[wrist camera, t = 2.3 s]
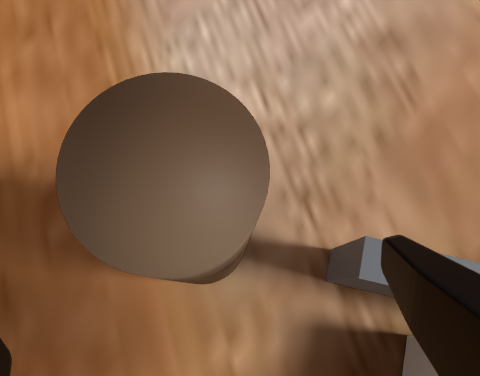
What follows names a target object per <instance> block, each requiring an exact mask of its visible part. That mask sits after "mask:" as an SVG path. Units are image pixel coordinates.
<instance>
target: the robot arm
mask: <svg viewBox="0 0 480 376" xmlns="http://www.w3.org/2000/svg"><path fill="white" fill-rule="evenodd" d="M381 269H382V272H383V275H384V277H385V279H386V281H387V283H388V285H389V287H390V289H391V291H392V293H393V295H394V298H395V300H396V302H397V304H398V306H399V308H400V310H401V312H402V314H403V316H404V318H405V320H406V322H407V324H408V326H409V328H410V330H411V332H412V334H413V335H414V337H415V339H416V340H417V342H418V343H419V345H420V347H421V348H422V350H423V352H424V353H425V355H426V356H427V358H428V360H429V361H430V363H431V364H432V366H433V368H434V369H435V371H436V372H437V374H438V376H480V274H479V273H477V272H475V271H473V270H471V269H469V268H467V267H465V266H463V265H461V264H459V263H457V262H455V261H453V260H451V259H449V258H447V257H445V256H443V255H441V254H439V253H437V252H435V251H433V250H431V249H429V248H427V247H425V246H423V245H421V244H419V243H417V242H415V241H413V240H411V239H409V238H407V237H405V236H402V235H395V236H390V237H386V238H384V239H383V241H382V249H381ZM11 363H12V359H11V354H10V352H9V350H8V348H7V347H6V346H5V344H4V343H3V341H2V340H1V338H0V376H10V372H11Z"/></svg>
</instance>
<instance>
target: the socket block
mask: <svg viewBox="0 0 480 376" xmlns="http://www.w3.org/2000/svg"><path fill="white" fill-rule="evenodd" d="M402 376H438V374H437V372H436V371H435V369H434V368H433V366H432V364H431V363H430V361H429V360H428V358H427V356H426V355H425V353H424V352H423V350H422V348H421V347H420V345H419V343H418V342H417V340H416V339H415V337H413V336H409V335H407V342H406V350H405V358H404V366H403V373H402Z"/></svg>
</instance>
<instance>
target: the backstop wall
mask: <svg viewBox="0 0 480 376" xmlns="http://www.w3.org/2000/svg"><path fill="white" fill-rule="evenodd" d="M382 241H383V240H380V239H376V238H371V237H367V236H365V237H362V238H360V239H357V240H354V241H352V242H349V243H347V244H344V245H341V246H339V247H336V248H334V249H331V254H330V260H329V265H328V271H327V277H326V281H328V282H332V283H336V284H340V285H344V286H349V287H353V288H357V289H361V290H365V291H369V292H374V293H378V294H382V295H386V296H390V297H394V295H393V293H392V291H391V289H390V287H389V285H388V283H387V281H386V279H385V277H384V275H383V272H382V269H381V249H382ZM441 255H443V256H445V257H447V258H449V259H451V260H453V261H455V262H457V263H459V264H461V265H463V266H465V267H467V268H469V269H471V270H473V271H475V272H477V273H479V274H480V263H478V262H473V261H469V260H465V259H461V258H456V257H452V256H448V255H444V254H441Z"/></svg>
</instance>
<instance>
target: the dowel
mask: <svg viewBox="0 0 480 376" xmlns="http://www.w3.org/2000/svg"><path fill="white" fill-rule="evenodd" d="M269 180H270V164H269V156H268V150H267V147H266V143H265V140H264V137H263V135H262V132H261V130H260V128H259V126H258V124H257V123H256V121H255V119H254V117H253V116H252V115H251V113H250V112H249V111H248V110H247V108H246V107H245V106H244V105H243V104H242V103H241V102H240V101H239V100H238V99H237V98H236V97H234V96H233V95H232V94H231V93H229V92H228V91H227V90H225V89H223V88H222V87H220V86H218V85H216V84H215V83H212V82H210V81H208V80H205V79H203V78H199V77H196V76H192V75H187V74H181V73H167V72H164V73H151V74H146V75H141V76H137V77H134V78H131V79H127V80H125V81H123V82H120V83H118V84H116V85H114V86H112V87H110V88H109V89H107V90H106V91H104V92H102V93H101V94H100V95H98V96H97V97H96V98H95V99H93V100H92V101H91V102H90V103H89V104H88V105H87V106H86V107H85V108H84V109H83V110H82V111H81V112H80V114H79V115H78V116H77V117H76V119H75V120H74V121H73V123H72V125H71V126H70V128H69V130H68V132H67V133H66V136H65V138H64V140H63V143H62V145H61V149H60V152H59V156H58V160H57V167H56V190H57V197H58V201H59V205H60V208H61V212H62V214H63V216H64V219H65V221H66V223H67V225H68V227H69V228H70V230H71V231H72V233H73V235H74V236H75V237H76V238H77V240H78V241H79V242H80V243H81V244H82V245H83V247H85V248H86V249H87V250H88V251H89V252H90V253H91V254H92V255H94V256H95V257H96V258H98V259H99V260H101V261H103V262H104V263H106V264H108V265H110V266H112V267H114V268H116V269H118V270H121V271H124V272H127V273H130V274H134V275H140V276H145V277H152V278H159V279H166V280H173V281H180V282H187V283H194V284H210V283H214V282H217V281H219V280H221V279H223V278H225V277H226V276H228V275H229V274H230V273H231V272H232V271H233V270H234V269H235V268H236V267H237V265H238V264H239V262H240V260H241V258H242V256H243V253H244V251H245V249H246V246H247V244H248V242H249V239H250V237H251V235H252V232H253V230H254V227H255V225H256V223H257V220H258V218H259V216H260V213H261V211H262V209H263V206H264V203H265V200H266V196H267V193H268V186H269Z"/></svg>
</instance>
